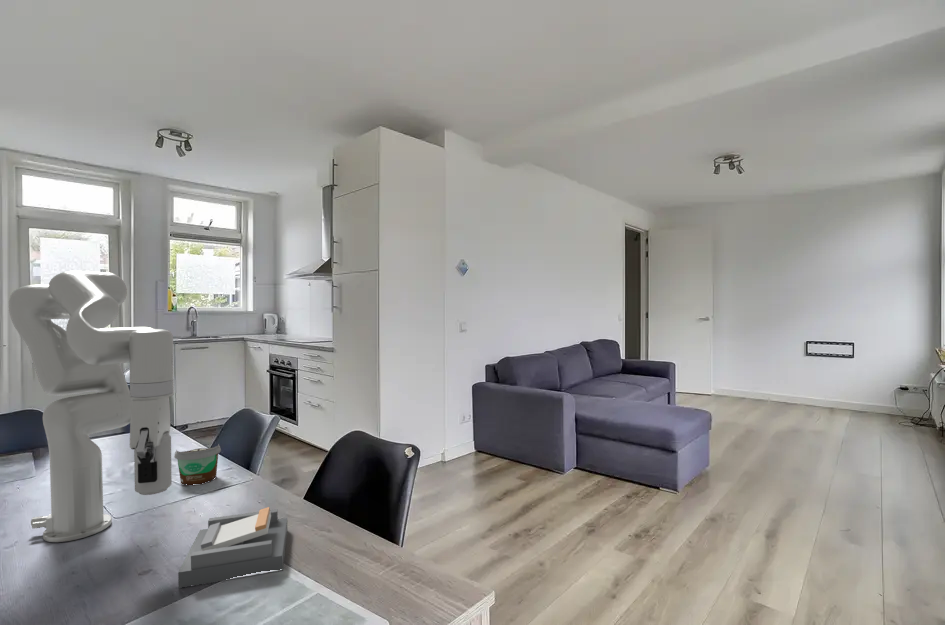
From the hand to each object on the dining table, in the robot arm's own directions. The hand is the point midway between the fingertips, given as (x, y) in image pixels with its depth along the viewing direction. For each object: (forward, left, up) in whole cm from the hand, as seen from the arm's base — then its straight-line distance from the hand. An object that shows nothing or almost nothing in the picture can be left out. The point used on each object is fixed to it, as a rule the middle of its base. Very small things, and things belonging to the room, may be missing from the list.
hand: (153, 475), depth 100 cm
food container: (-2, +47, -18) cm, 50 cm away
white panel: (+16, -4, -12) cm, 21 cm away
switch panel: (+16, -4, -18) cm, 24 cm away
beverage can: (0, 0, -3) cm, 3 cm away
